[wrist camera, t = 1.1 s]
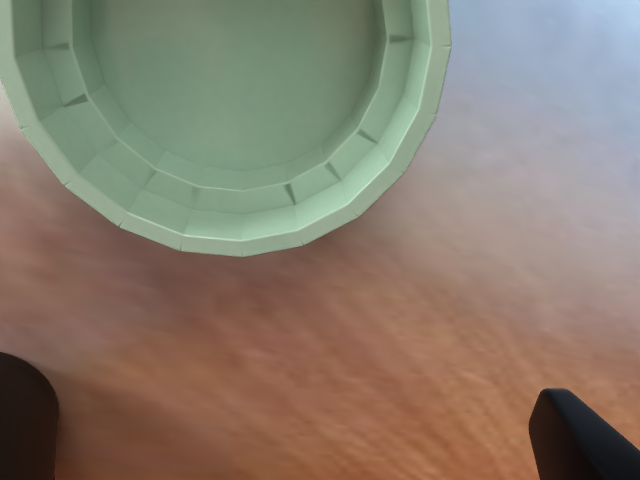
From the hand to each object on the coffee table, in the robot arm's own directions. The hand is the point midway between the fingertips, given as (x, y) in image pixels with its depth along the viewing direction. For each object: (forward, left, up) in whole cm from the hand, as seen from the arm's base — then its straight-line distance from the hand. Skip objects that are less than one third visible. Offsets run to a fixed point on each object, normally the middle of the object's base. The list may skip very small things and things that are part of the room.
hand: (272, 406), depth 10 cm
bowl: (+5, 0, -14) cm, 15 cm away
